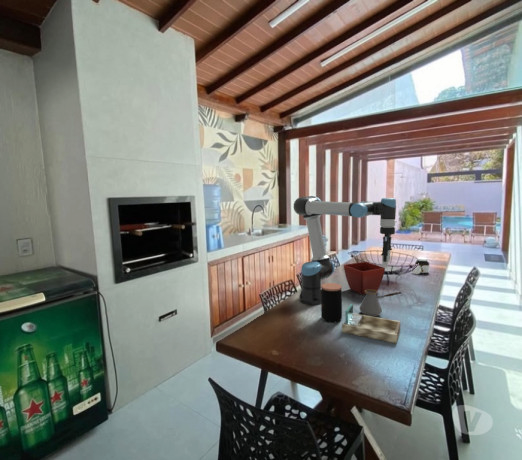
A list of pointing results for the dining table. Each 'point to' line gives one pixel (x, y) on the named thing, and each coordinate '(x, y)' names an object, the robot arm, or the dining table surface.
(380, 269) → the plant pot
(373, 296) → the coffee pot
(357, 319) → the teal piece
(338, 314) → the coffee jar
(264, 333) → the dining table surface
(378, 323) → the channel
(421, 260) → the spread jar
